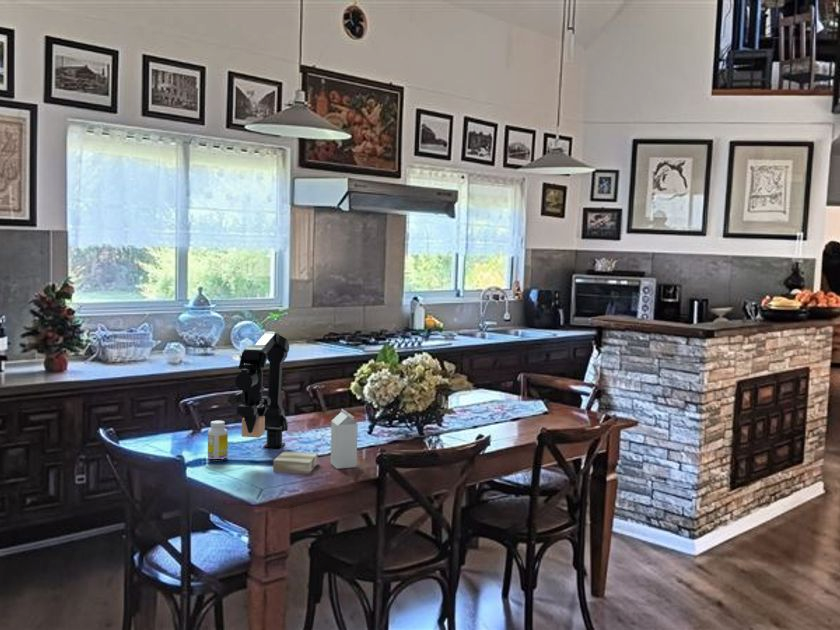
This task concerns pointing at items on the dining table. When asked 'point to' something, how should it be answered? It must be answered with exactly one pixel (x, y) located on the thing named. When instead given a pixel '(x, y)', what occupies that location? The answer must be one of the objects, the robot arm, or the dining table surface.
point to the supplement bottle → (217, 440)
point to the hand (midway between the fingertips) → (253, 430)
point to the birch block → (295, 462)
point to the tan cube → (257, 430)
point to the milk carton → (344, 441)
